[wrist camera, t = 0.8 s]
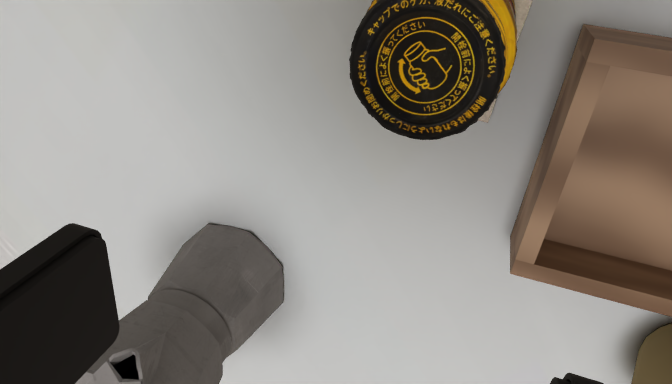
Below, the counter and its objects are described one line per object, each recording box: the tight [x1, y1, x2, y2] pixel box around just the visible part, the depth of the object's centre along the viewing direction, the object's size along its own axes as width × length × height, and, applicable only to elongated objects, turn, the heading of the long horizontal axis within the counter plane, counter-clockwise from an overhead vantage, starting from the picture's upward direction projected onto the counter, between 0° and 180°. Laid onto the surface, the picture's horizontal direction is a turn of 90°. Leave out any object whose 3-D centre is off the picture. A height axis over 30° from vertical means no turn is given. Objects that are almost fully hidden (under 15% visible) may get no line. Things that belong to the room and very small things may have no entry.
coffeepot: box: [75, 224, 284, 384], centre depth 33 cm, size 15×9×18 cm, turn 156°
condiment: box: [349, 0, 533, 140], centre depth 22 cm, size 7×8×12 cm
